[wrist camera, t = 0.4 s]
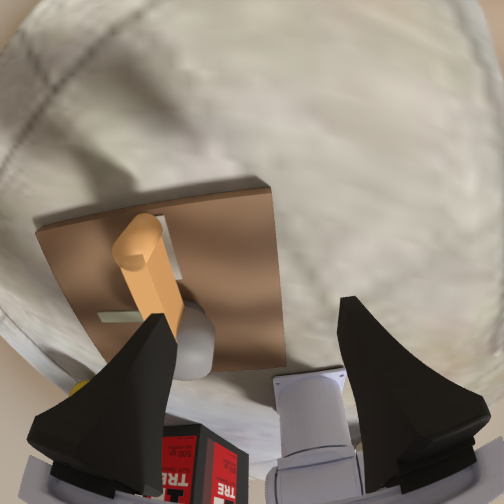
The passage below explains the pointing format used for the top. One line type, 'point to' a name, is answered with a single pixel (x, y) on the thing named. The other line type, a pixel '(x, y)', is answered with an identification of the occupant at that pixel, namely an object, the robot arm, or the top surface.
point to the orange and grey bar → (164, 295)
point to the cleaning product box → (202, 467)
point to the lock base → (182, 273)
